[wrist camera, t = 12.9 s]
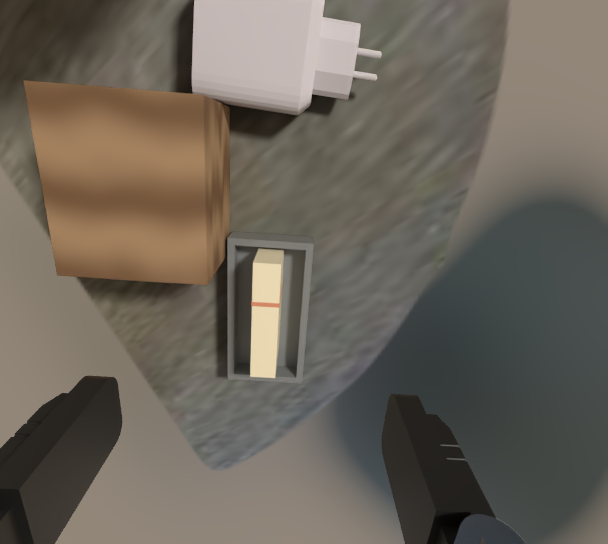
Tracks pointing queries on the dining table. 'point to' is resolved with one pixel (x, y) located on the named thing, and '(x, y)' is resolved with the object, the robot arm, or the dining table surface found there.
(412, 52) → the dining table surface
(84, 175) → the wooden block
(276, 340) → the cream rectangular block
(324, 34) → the charger
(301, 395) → the dining table surface
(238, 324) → the tray
